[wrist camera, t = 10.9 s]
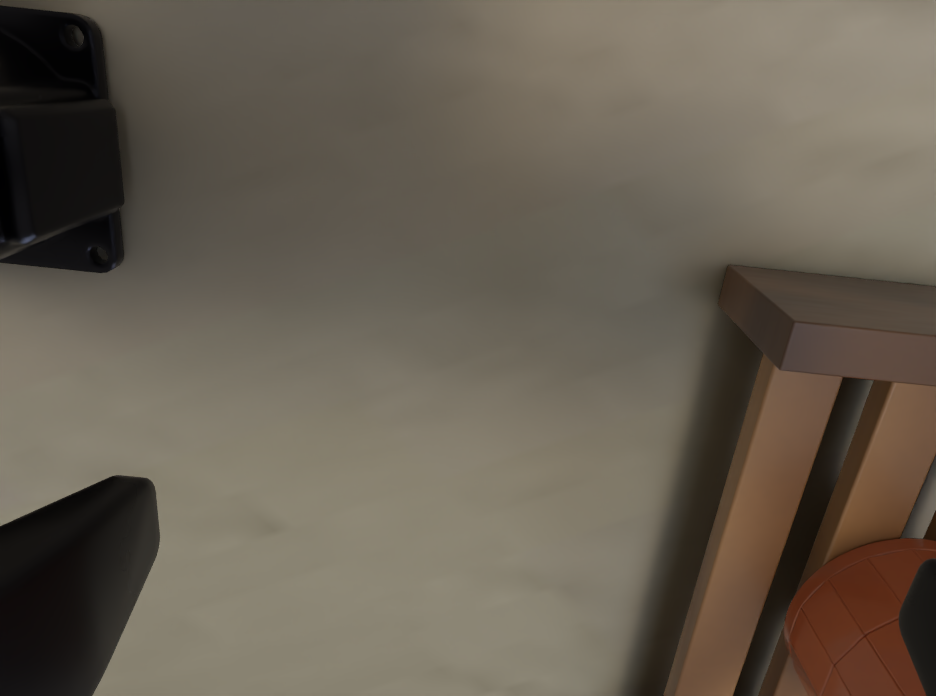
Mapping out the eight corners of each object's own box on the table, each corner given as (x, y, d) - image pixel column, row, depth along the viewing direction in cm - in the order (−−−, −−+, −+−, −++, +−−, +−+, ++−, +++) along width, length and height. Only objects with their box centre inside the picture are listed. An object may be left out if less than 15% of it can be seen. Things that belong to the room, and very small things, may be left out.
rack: (608, 729, 26) (631, 856, 22) (727, 264, 19) (793, 321, 15) (919, 760, 26) (1000, 892, 22) (1154, 309, 19) (1340, 378, 15)
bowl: (760, 681, 21) (827, 837, 17) (816, 526, 18) (911, 660, 14) (948, 700, 21) (1061, 860, 17) (1027, 548, 19) (1182, 688, 14)
